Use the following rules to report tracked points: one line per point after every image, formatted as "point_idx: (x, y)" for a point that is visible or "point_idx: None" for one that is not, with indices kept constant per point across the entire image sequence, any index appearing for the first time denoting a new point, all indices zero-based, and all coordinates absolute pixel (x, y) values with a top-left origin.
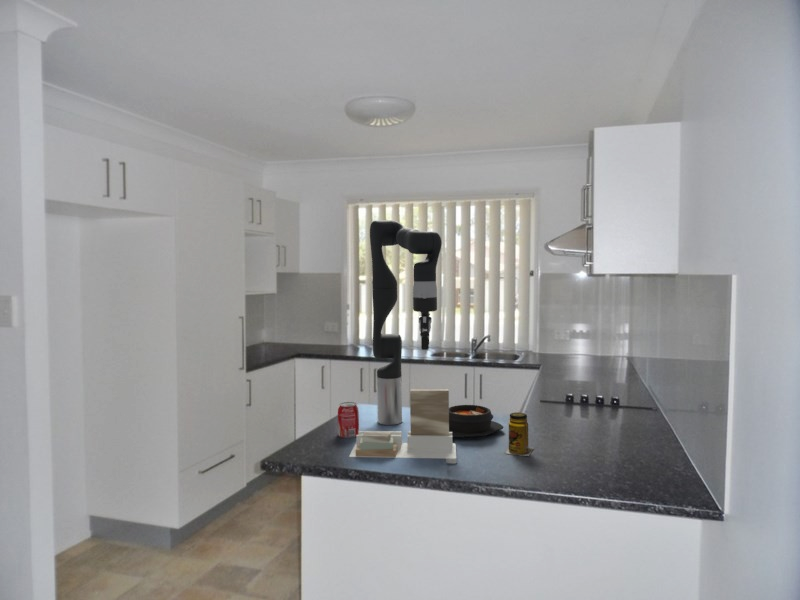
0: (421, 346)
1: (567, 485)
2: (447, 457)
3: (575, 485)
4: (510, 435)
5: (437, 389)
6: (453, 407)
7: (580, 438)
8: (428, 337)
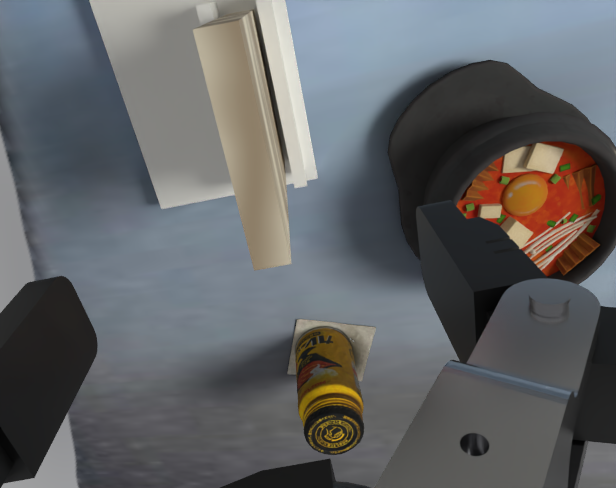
0: (12, 299)
1: (118, 449)
2: (160, 179)
3: (125, 461)
4: (308, 366)
5: (275, 204)
6: (593, 151)
7: None
8: (18, 479)
